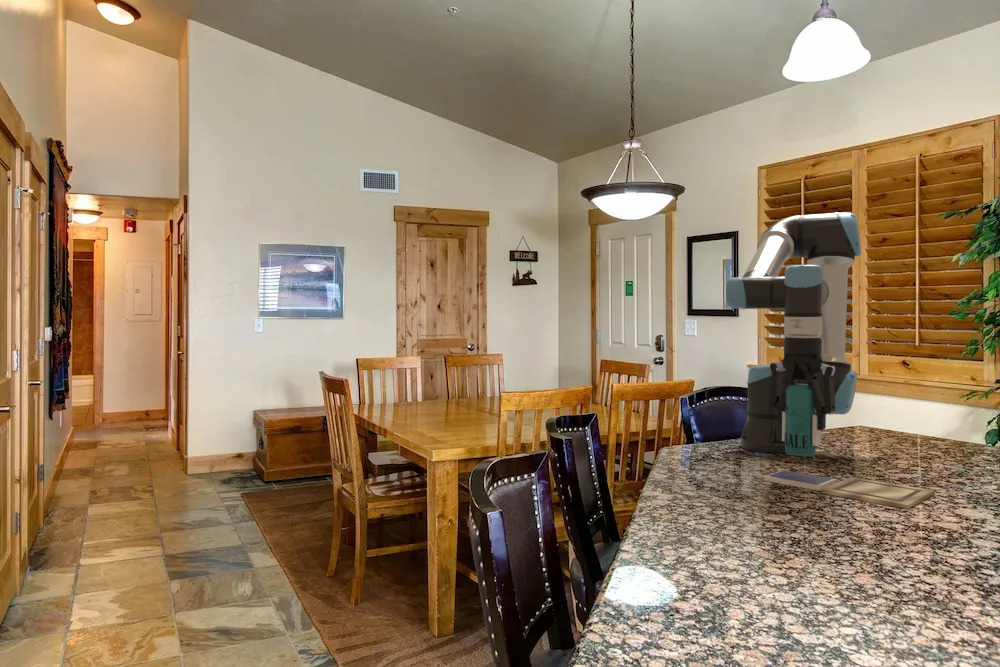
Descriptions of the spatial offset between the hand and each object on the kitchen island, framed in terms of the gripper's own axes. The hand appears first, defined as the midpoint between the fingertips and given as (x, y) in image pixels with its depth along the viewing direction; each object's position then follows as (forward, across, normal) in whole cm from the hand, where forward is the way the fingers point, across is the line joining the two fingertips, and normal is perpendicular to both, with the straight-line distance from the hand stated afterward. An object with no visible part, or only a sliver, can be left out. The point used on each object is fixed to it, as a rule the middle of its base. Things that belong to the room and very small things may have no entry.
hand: (801, 442), depth 153 cm
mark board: (+9, +15, +1) cm, 18 cm away
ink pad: (+9, 0, -1) cm, 9 cm away
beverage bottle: (+4, 0, 0) cm, 4 cm away
